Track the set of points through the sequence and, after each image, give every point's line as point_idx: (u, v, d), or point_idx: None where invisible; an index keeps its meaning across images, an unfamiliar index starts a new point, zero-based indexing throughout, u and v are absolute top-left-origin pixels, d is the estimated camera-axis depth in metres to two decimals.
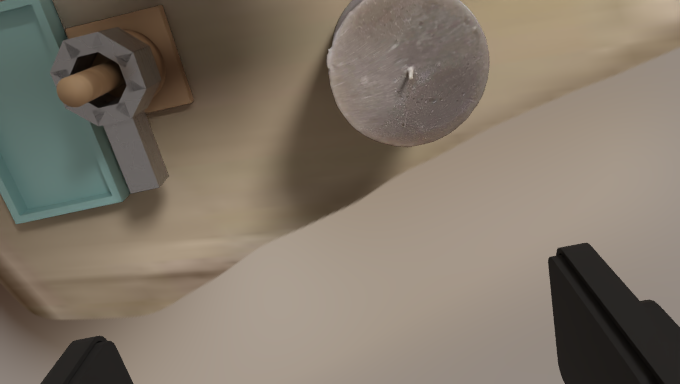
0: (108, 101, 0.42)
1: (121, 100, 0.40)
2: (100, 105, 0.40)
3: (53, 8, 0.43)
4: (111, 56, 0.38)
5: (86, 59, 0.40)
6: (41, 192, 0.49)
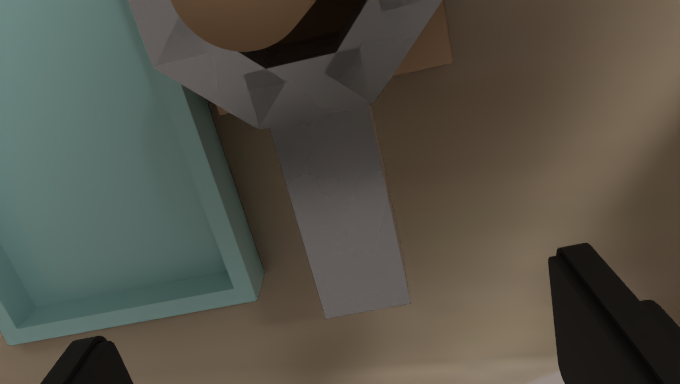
0: (275, 51, 0.14)
1: (348, 41, 0.11)
2: (265, 60, 0.12)
3: None
4: None
5: None
6: (65, 272, 0.22)
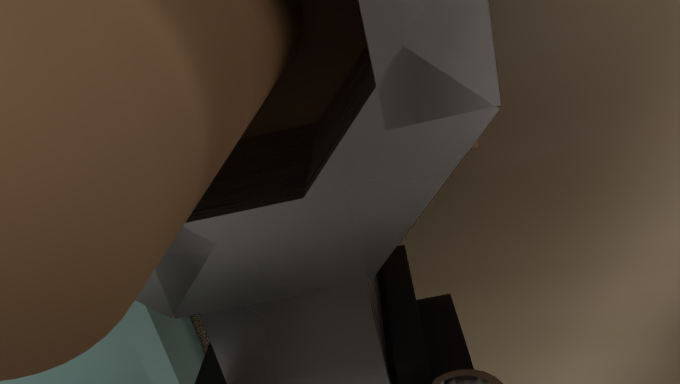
0: None
1: (326, 180, 0.06)
2: None
3: None
4: None
5: None
6: None
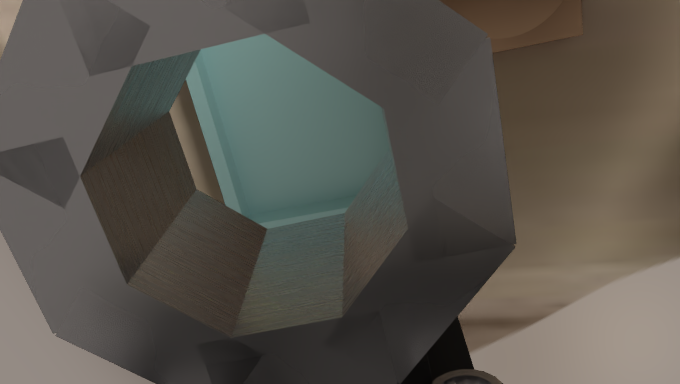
0: (251, 263, 0.09)
1: (362, 302, 0.07)
2: (233, 308, 0.08)
3: None
4: (344, 59, 0.06)
5: (163, 78, 0.08)
6: (277, 187, 0.30)
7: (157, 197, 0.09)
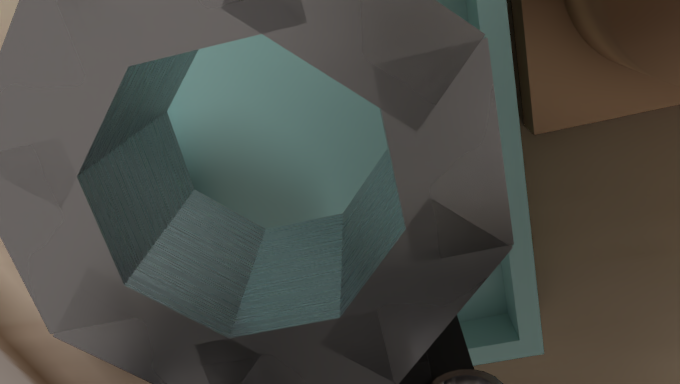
0: (249, 264, 0.09)
1: (360, 303, 0.07)
2: (231, 308, 0.08)
3: None
4: (341, 59, 0.06)
5: (161, 78, 0.08)
6: None
7: (155, 197, 0.09)
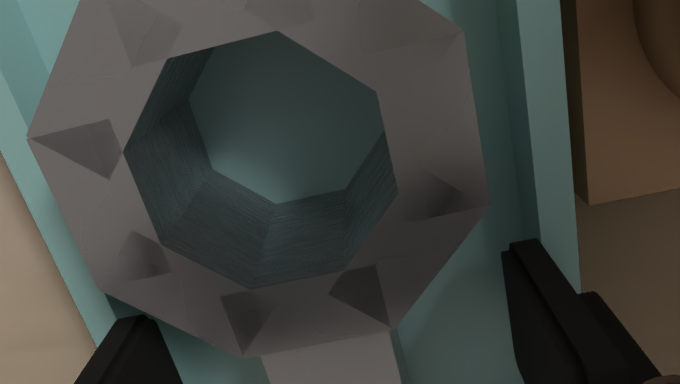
0: (263, 232, 0.11)
1: (361, 257, 0.09)
2: (250, 267, 0.09)
3: None
4: (342, 51, 0.07)
5: (187, 69, 0.09)
6: None
7: (181, 173, 0.10)
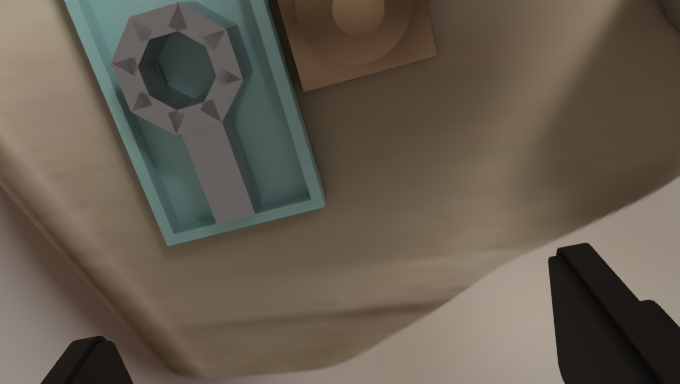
0: (185, 102, 0.31)
1: (208, 97, 0.29)
2: (177, 106, 0.30)
3: None
4: (195, 35, 0.28)
5: (156, 45, 0.30)
6: (201, 199, 0.35)
7: (156, 80, 0.30)
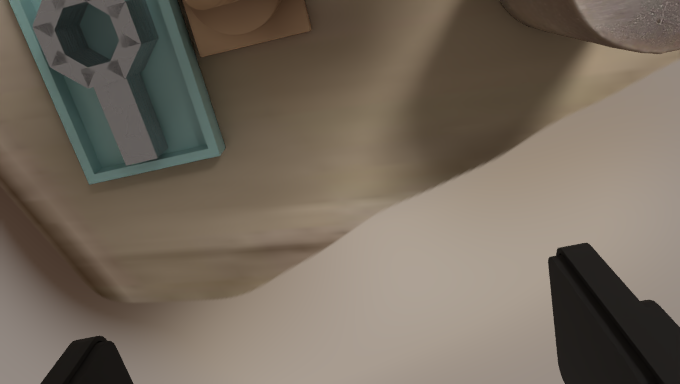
0: (99, 61, 0.37)
1: (113, 57, 0.35)
2: (90, 64, 0.36)
3: None
4: (100, 6, 0.34)
5: (73, 13, 0.36)
6: None
7: (74, 42, 0.36)
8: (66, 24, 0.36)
